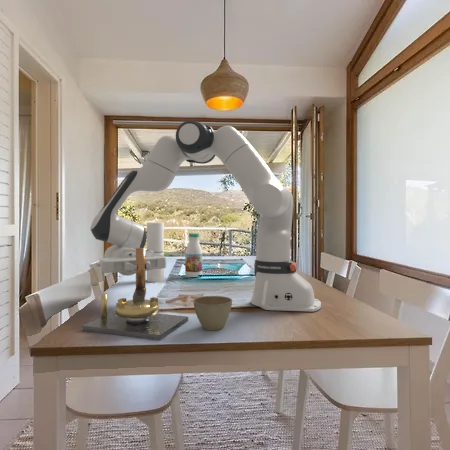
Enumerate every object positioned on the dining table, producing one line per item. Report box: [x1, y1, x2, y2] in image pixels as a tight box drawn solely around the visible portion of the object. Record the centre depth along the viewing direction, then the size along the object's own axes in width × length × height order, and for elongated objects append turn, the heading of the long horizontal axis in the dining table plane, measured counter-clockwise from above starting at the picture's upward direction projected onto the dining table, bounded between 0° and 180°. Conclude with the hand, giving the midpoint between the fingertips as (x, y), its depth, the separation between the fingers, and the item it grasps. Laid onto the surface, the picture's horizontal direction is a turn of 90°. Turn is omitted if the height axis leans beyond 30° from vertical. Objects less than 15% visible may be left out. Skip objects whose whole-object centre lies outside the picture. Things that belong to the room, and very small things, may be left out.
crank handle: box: [115, 247, 160, 318], centre depth 100 cm, size 20×11×15 cm, turn 10°
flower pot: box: [192, 295, 233, 331], centre depth 94 cm, size 10×10×7 cm
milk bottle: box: [184, 232, 203, 278], centre depth 167 cm, size 8×8×20 cm
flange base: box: [82, 292, 189, 341], centre depth 96 cm, size 22×16×8 cm
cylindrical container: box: [146, 221, 165, 283], centre depth 157 cm, size 7×7×25 cm
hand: (141, 266), depth 107 cm, fingers closed on crank handle, 3 cm apart
